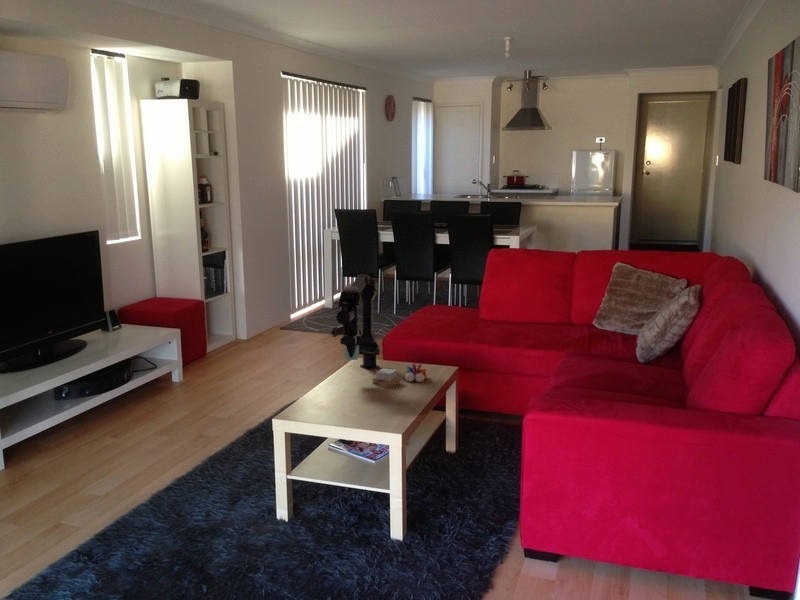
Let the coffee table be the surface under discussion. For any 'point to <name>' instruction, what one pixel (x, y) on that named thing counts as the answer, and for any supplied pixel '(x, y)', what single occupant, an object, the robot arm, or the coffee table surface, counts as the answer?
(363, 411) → the coffee table surface
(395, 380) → the tower base
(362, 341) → the robot arm
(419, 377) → the rainbow segmented toy
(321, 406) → the coffee table surface
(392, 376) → the tower mid
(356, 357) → the teal cube
